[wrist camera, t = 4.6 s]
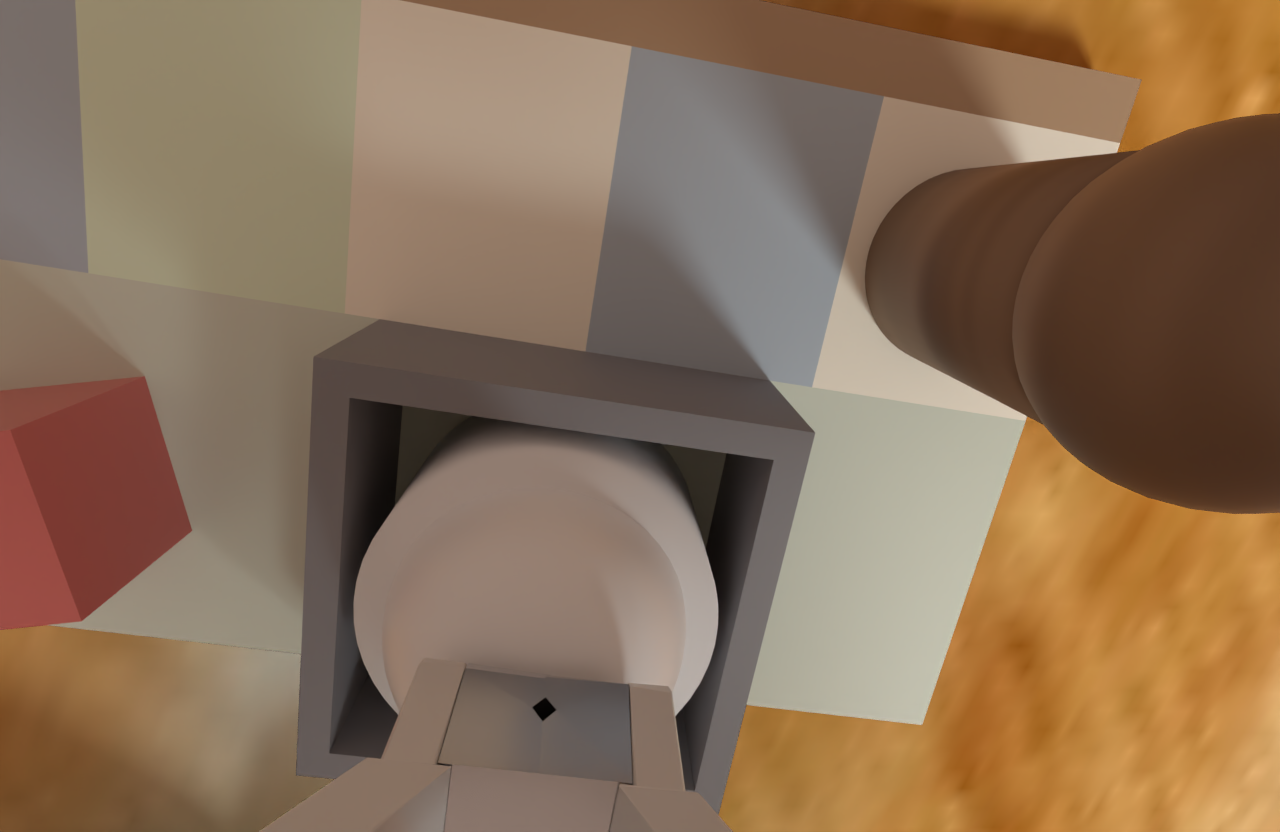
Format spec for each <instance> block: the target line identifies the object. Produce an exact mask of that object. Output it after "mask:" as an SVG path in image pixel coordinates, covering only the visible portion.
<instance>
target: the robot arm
mask: <svg viewBox="0 0 1280 832" xmlns="http://www.w3.org/2000/svg"><path fill="white" fill-rule="evenodd" d="M258 832H733V831H732V830H731V829H730V828H729V827H728V825H727V824H726V823H725V822H724V821H723V820H722V819H721V818H720V816H719V815H718V814H717V813H716V812H715V811H714V810H713V809H712V807H711V806H710V805H709V804H708V803H707V802H706V801H705V800H704V799H703V797H702V796H701V795H700V794H699V793H697V792H689V791H685V784H684V777H683V769H682V762H681V754H680V747H679V740H678V732H677V725H676V718H675V710H674V703H673V695H672V691H671V690H670V688H669V687H668V686H661V685H649V684H638V683H628V684H622V683H613V682H604V681H596V680H587V679H578V678H569V677H561V676H552V675H550V674H543V673H536V672H529V671H522V670H515V669H508V668H501V667H494V666H487V665H479V664H472V663H468V665H467V664H466V663H464V662H456V661H448V660H440V659H432V658H424V659H423V660H422V661H421V663H420V664H419V665H418V667H417V670H416V672H415V675H414V677H413V680H412V682H411V685H410V687H409V690H408V692H407V695H406V697H405V700H404V702H403V705H402V707H401V710H400V712H399V715H398V717H397V720H396V722H395V725H394V727H393V730H392V732H391V735H390V737H389V740H388V742H387V745H386V747H385V750H384V752H383V755H382V757H381V759H378V758H365V759H364V760H363V761H361V762H360V763H358V764H357V765H355V766H354V767H352V768H351V769H349V770H348V771H346V772H345V773H343V774H342V775H341V776H339V777H338V778H336V779H335V780H333V781H332V782H330V783H329V784H327V785H326V786H324V787H323V788H321V789H320V790H319V791H317V792H316V793H314V794H313V795H311V796H310V797H308V798H307V799H305V800H304V801H302V802H301V803H299V804H298V805H297V806H295V807H294V808H292V809H291V810H289V811H288V812H286V813H285V814H283V815H282V816H280V817H279V818H278V819H276V820H275V821H273V822H272V823H270V824H269V825H267V826H266V827H264V828H263V829H261V830H260V831H258Z"/></svg>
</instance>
